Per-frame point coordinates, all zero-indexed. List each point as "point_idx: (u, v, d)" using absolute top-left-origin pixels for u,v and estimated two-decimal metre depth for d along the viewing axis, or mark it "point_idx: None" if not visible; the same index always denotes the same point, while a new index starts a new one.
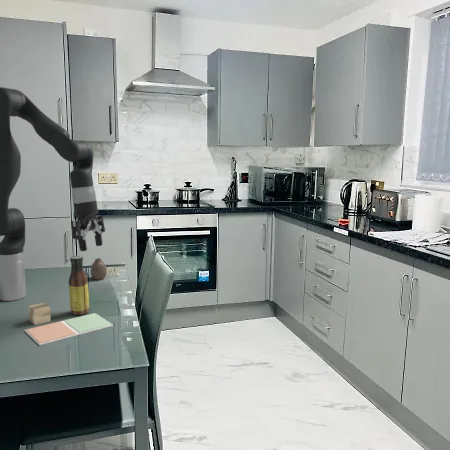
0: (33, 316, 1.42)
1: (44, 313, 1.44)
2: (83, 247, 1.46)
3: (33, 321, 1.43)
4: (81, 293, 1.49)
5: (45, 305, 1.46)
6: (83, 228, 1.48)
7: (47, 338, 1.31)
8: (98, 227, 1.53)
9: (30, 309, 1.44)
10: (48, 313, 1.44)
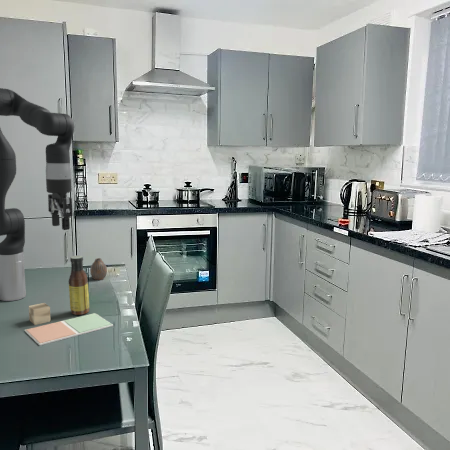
0: (33, 316, 1.42)
1: (44, 313, 1.44)
2: None
3: (33, 321, 1.43)
4: (81, 293, 1.49)
5: (45, 305, 1.46)
6: None
7: (47, 338, 1.31)
8: (58, 209, 1.40)
9: (30, 309, 1.44)
10: (48, 313, 1.44)
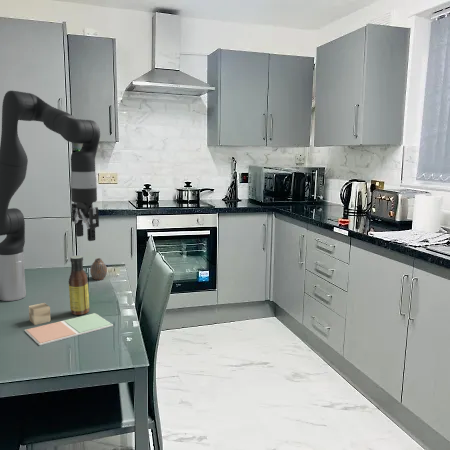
0: (33, 316, 1.42)
1: (44, 313, 1.44)
2: None
3: (33, 321, 1.43)
4: (81, 293, 1.49)
5: (45, 305, 1.46)
6: None
7: (47, 338, 1.31)
8: (83, 219, 1.35)
9: (30, 309, 1.44)
10: (48, 313, 1.44)
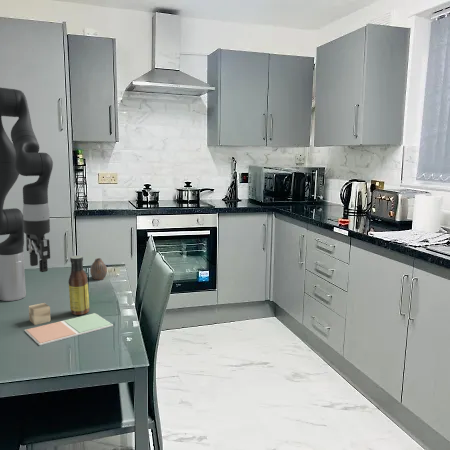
0: (33, 316, 1.42)
1: (44, 313, 1.44)
2: None
3: (33, 321, 1.43)
4: (81, 293, 1.49)
5: (45, 305, 1.46)
6: None
7: (47, 338, 1.31)
8: (35, 250, 1.36)
9: (30, 309, 1.44)
10: (48, 313, 1.44)
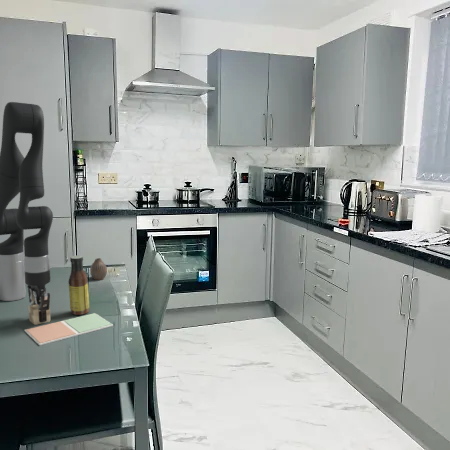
0: (33, 316, 1.42)
1: None
2: None
3: (33, 321, 1.43)
4: (81, 293, 1.49)
5: None
6: None
7: (47, 338, 1.31)
8: (35, 301, 1.41)
9: (30, 309, 1.44)
10: (48, 313, 1.44)
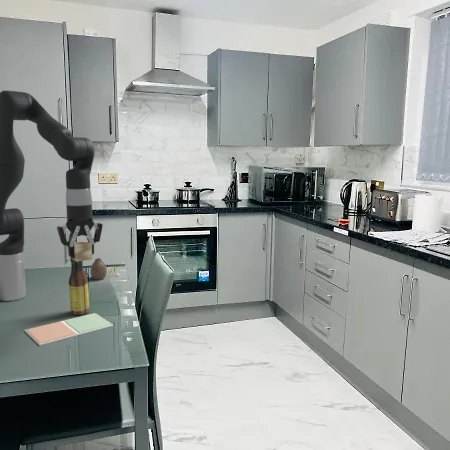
0: (89, 251, 1.39)
1: None
2: (70, 254, 1.37)
3: (88, 256, 1.39)
4: (81, 293, 1.49)
5: (80, 242, 1.41)
6: (73, 233, 1.38)
7: (47, 338, 1.31)
8: (89, 235, 1.39)
9: (80, 247, 1.37)
10: None
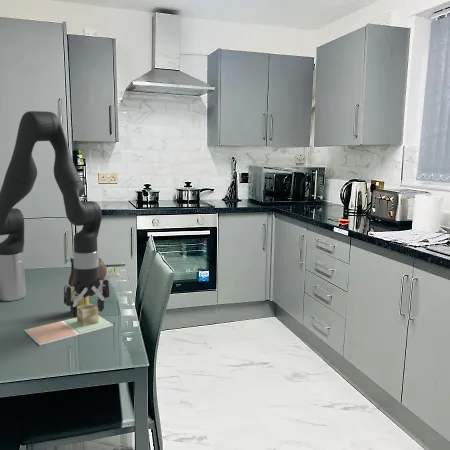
0: (95, 315, 1.42)
1: None
2: (73, 314, 1.39)
3: (95, 320, 1.43)
4: None
5: (85, 305, 1.44)
6: (78, 294, 1.40)
7: (47, 338, 1.31)
8: (98, 293, 1.43)
9: (88, 312, 1.41)
10: None
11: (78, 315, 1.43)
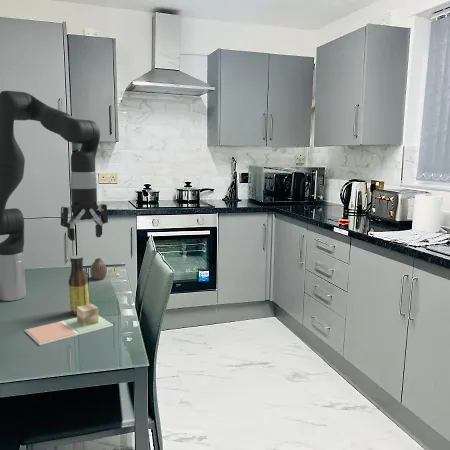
0: (95, 315, 1.42)
1: None
2: (70, 236, 1.35)
3: (95, 320, 1.43)
4: (81, 293, 1.49)
5: (85, 305, 1.44)
6: (76, 216, 1.36)
7: (47, 338, 1.31)
8: (96, 217, 1.39)
9: (88, 312, 1.41)
10: None
11: (78, 315, 1.43)
